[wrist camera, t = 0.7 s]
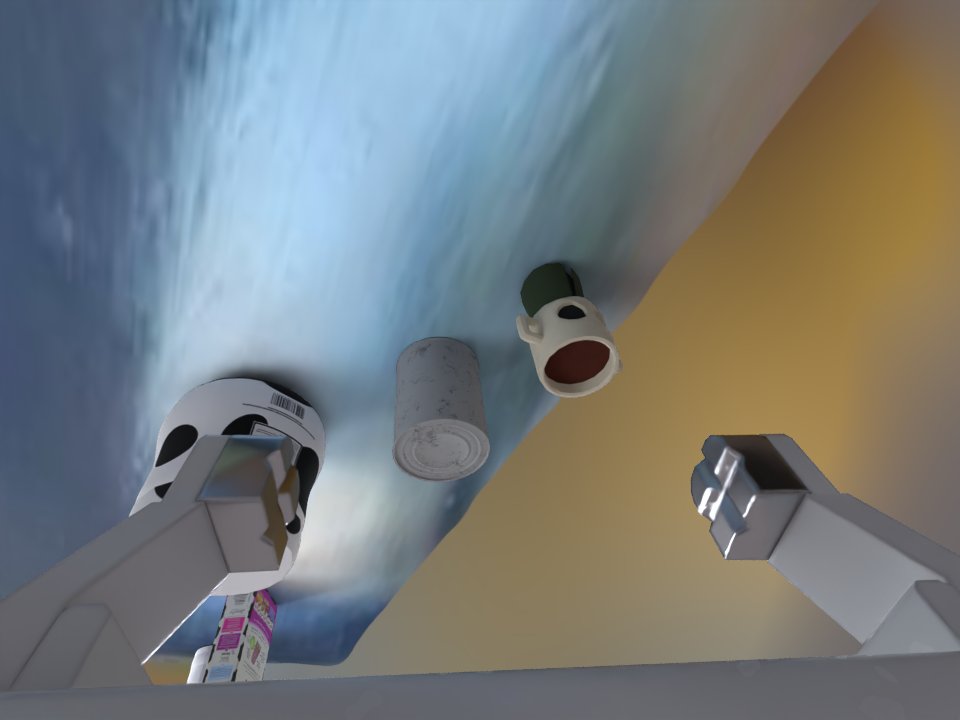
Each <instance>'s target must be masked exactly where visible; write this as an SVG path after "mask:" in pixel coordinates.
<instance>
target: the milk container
mask: <svg viewBox="0 0 960 720" xmlns="http://www.w3.org/2000/svg"><path fill="white" fill-rule="evenodd" d="M204 435H232V436H233V435H267V436H288V437H290V438H291V440H292V444H293V448H294V454H293V457H292V460H291V464H292V465H293V466H294V467H295V468H297V469H298V475H299V486H300V492H299V500H298V507H297V511H296V514H295V518H294V520H292V521H291V522H290V523H289V524H288V525H287V526H286V531H287V536H288V541H287V545H286V548H285V551H284V554H283V558H282V561H281V564H280V568H279V571H260V572H240V573H228V574H229V576H228V577H227V578H226V579H225V580H224V582H223V583H222V584H221V585H220V586H219V587H218V588H217V589H216V590H215V591H214V592H213V593H212V594H211V595H213V596H225V595H238V594H247V593H251V592H254V591H258V590H262V589H265V588H269V587H270V586H272V585H274V584H275V583H277V582H279V581H281V580H282V579H284V578H285V577H286V575H287V574H288V572H289V571H290V569H291V568H292V566H293V564H294V562H295V560H296V556H297V553H298V550H299V547H300V541H301V532H302V530H303V527H304V522H305V516H306V509H307V502H308V497H309V494H310V491H311V489H312V487H313V485H314V483H315V481H316V480H317V478H318V476H319V474H320V471H321V469H322V465H323V462H324V456H325V434H324V428H323V425H322V422H321V420H320V418H319V416H318V415H317V413H316V411H315V410H314V408H313V407H312V406H311V405H310V404H309V403H308V402H307V401H305V400H304V399H303V398H302V397H301V396H299V395H298V394H296V393H295V392H293V391H291V390H289V389H287V388H284V387H282V386H280V385H277V384H275V383H272V382H268V381H263V380H258V379H252V378H224V379H218V380H214V381H211V382H208V383H205V384H202V385H200V386H198V387H196V388H194V389H193V390H191V391H190V392H188V393H187V394H186V395H184V396H183V397H182V398H181V399H180V400H179V402H178V403H177V404H176V405H175V406H174V407H173V409H172V410H171V411H170V413H169V414H168V416H167V417H166V419H165V421H164V423H163V425H162V427H161V430H160V432H159V435H158V440H157V446H156V456H155V462H154V466H153V468H152V470H151V472H150V474H149V476H148V478H147V480H146V482H145V484H144V486H143V487H142V489H141V491H140V493H139V495H138V497H137V500H136V503H135V505H134V506H133V508H132V510H131V512H130V515H129V517H130V516H131V515H133V514H134V513H136V512H138V511H139V510H141V509H142V508H144V507H145V506H147V505H148V504H150V503H151V502H161V501H162V499H163V497H164V496H165V494H166V492H167V491H168V489H169V487H170V486H171V484H172V482H173V481H174V479H175V477H176V476H177V474H178V472H179V471H180V469H181V467H182V466H183V464H184V462H185V461H186V459H187V457H188V456H189V454H190V452H191V451H192V449H193V447H194V446H195V444H196V442H197V441H198V440H199V439H200V438H201V437H203V436H204Z"/></svg>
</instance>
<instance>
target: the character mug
mask: <svg viewBox="0 0 960 720" xmlns="http://www.w3.org/2000/svg"><path fill="white" fill-rule="evenodd" d="M570 270H571V274H572V277H571V276H570V275H568V274H567V273H565V270H564V268H563V265H562V264H560V263H555V264H545V265H543V266H541V267H539V268H537V269H535V270H533V271H532V272H531V274H530V275H529V276H528V277H527V279H526V280H525V281H524V284H523V287H522V290H521V298H522V303H523V305H524V307H525V310H526V312H527V314H528V315H529V316H526V315H522V314H520V315H518V316H517V318H516V324H517V328H518V332H519V336H520V338H521V339H522V340H524V341H526V342H528V343H529V344H530V348H531V351H532V355H533V359H534V362H535V366H536V370H537V373H538V377H539V379H540V381H541V383H542V384H543V385H544V387H545V388H546V390H548V391H549V392H551V393H553V394H555V395H557V396H562V397H570V398H573V397H579V396H585V395H588V394H591V393H593V392H595V391H597V390H600V389H601V388H603V387H604V386H605V385H606V384H607V383H608V382H609V381H611V380H612V379H613V377H614V375H615V373H616V372H620V371H622V363H621V361H620V359H619V353H618V351H617V348H616V346H615V344H614V341H613V337H612V335H611V334H610V332H609V331H608V330H607V328H606V324H605V321H604V319H603V316H602V315H601V313H600V311H599V310H598V308H597V307H596V306H594V305H593V304H592V303H591V302H590V301H589V300H587V299H585V298H584V296H583V291H582V287H581V283H580V280H579V277H578V276H577V274H576V273H575V271H574V270H573V269H572V268H570Z"/></svg>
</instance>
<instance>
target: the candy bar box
mask: <svg viewBox="0 0 960 720" xmlns="http://www.w3.org/2000/svg"><path fill="white" fill-rule="evenodd" d="M277 608H278V606H277V605H276V603H275V602H274V600H273V599H272V597H271V596H270V594H269V593H268V592H267V590H266V589H262V590H258V591H254V592H251V593H247V594H238V595H227V599H226V602H225V606H224V609H223V612H222V616H221V619H220V623H219V626H218V630H217V634H216V637H215V640H214V643H213V647H212V650H211V654H210V657H209V661H208V664H207V667H206V671H205V674H204V678H203V681H202V683H213V682H237V681H261V680H262V679H263V674H264V670H265V664H266V660H267V655H268V650H269V645H270V641H271V636H272V631H273V627H274V622H275V617H276V612H277Z"/></svg>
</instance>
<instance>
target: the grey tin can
mask: <svg viewBox="0 0 960 720" xmlns="http://www.w3.org/2000/svg"><path fill="white" fill-rule="evenodd" d="M478 368H479V365H478V361H477V358H476V356H475V354H474V353H473V351H472V350H471V349H469V348H468V347H467V346H466V345H464V344H463V343H461V342H459V341H456V340H453V339H450V338H443V337H436V338H428V339H423V340H420V341H418V342H416V343H414V344H412V345H411V346H409V347H408V348H406V349H405V351H404V352H403V353H402V354H401V355H400V357H399V359H398V361H397V366H396V374H397V378H396V402H395V427H394V446H393V459H394V461H395V462H396V464H397V466H398V467H399V468H400V469H401V470H402V471H403V472H405V473H406V474H408V475H409V476H411V477H414V478H417V479H420V480H424V481H431V482H446V481H452V480H457V479H460V478H463V477H466V476H468V475H470V474H472V473H474V472H475V471H477V470H478V469H479V468H480V467H481V466H482V465H483V464H484V463H485V462H486V460H487V458H488V456H489V453H490V443H489V440H488V434H487V427H486V420H485V413H484V406H483V399H482V392H481V385H480V378H479V371H478Z"/></svg>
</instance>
